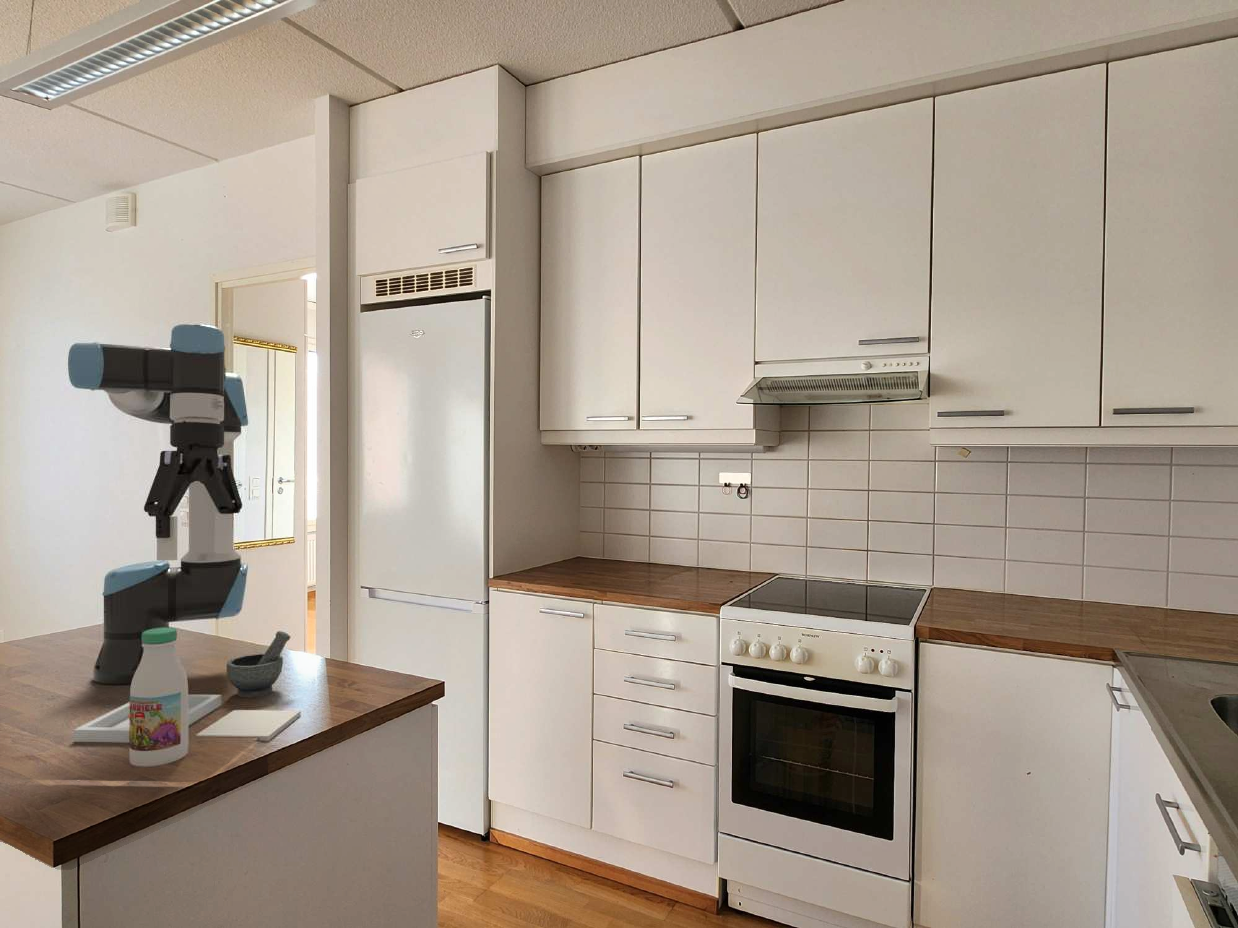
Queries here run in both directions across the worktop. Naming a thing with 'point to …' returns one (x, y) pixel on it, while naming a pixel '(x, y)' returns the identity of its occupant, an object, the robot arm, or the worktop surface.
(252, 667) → the mortar and pestle
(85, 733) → the tray
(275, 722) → the pad
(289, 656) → the worktop surface
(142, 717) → the milk bottle
